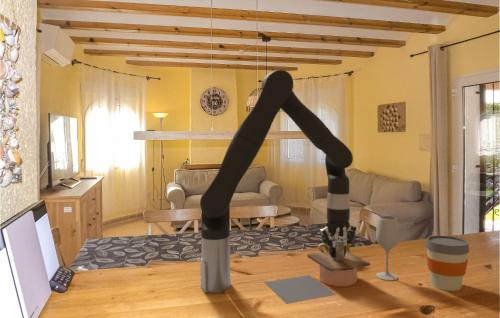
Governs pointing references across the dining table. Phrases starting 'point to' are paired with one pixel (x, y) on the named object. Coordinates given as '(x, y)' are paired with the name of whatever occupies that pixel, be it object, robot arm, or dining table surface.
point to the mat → (299, 289)
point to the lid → (338, 259)
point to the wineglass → (387, 241)
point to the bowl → (338, 276)
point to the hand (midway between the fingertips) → (337, 256)
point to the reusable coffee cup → (447, 261)
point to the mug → (328, 247)
